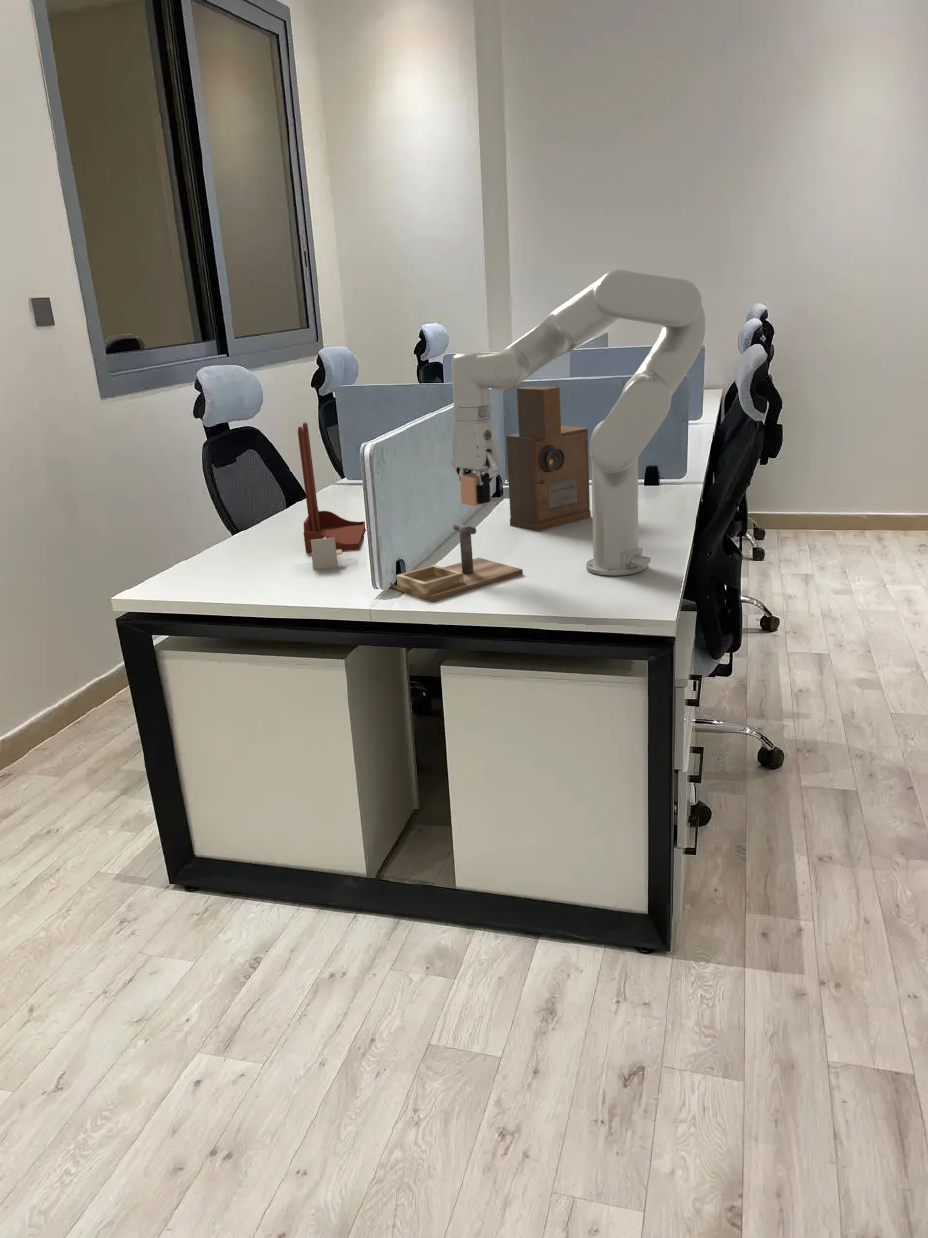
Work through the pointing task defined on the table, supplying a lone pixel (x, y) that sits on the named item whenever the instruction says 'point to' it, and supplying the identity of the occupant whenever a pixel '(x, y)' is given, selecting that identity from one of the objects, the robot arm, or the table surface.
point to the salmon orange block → (470, 489)
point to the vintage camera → (546, 464)
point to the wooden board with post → (455, 573)
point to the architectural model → (324, 553)
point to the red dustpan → (324, 521)
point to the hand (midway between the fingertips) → (475, 500)
